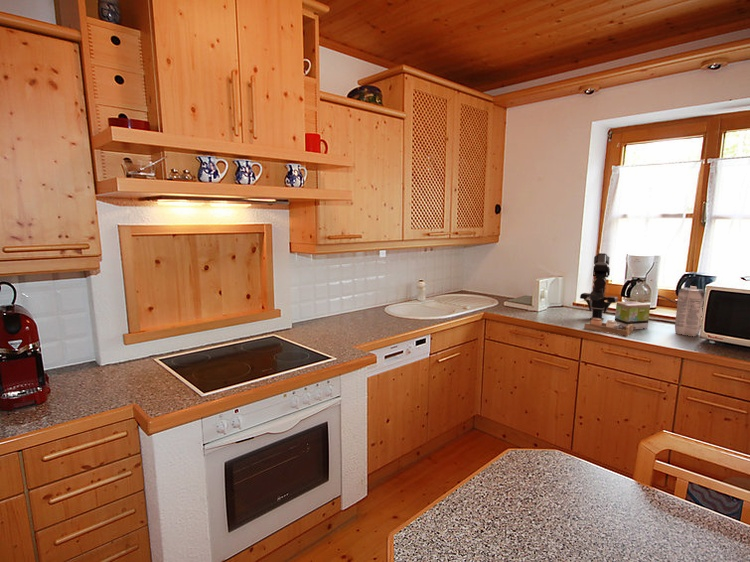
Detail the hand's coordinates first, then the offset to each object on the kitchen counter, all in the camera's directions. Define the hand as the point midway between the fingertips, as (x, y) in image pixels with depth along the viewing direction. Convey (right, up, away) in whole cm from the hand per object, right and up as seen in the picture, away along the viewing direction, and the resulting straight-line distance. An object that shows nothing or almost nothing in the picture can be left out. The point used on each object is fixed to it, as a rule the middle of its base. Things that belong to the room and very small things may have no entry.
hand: (597, 312), depth 243 cm
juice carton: (+44, -12, -10) cm, 47 cm away
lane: (+4, -10, -3) cm, 11 cm away
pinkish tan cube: (0, -10, +2) cm, 10 cm away
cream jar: (+6, -11, -4) cm, 13 cm away
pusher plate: (+8, -11, -7) cm, 15 cm away
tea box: (+22, -10, +4) cm, 24 cm away
